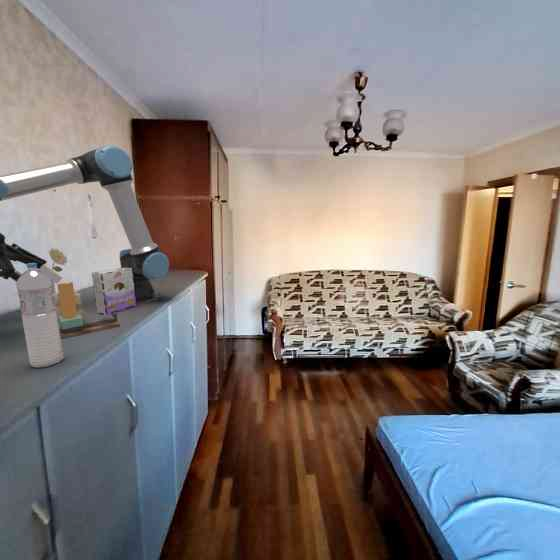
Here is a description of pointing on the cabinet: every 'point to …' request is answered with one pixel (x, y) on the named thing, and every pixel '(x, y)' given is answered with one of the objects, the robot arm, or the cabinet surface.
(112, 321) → the rail board
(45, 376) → the cabinet surface
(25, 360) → the cabinet surface
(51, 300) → the water bottle
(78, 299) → the tan hollow wooden box
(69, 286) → the block
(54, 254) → the flower in vase
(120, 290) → the candy box
